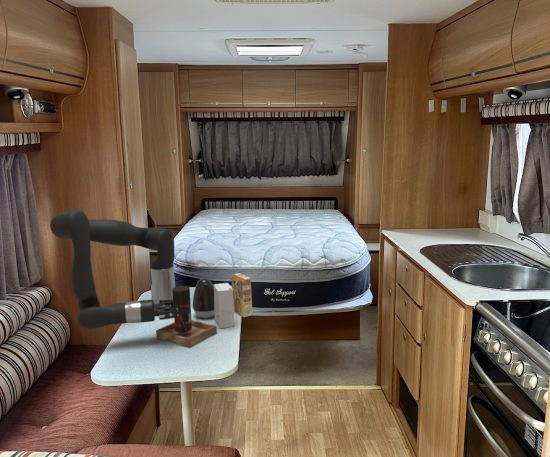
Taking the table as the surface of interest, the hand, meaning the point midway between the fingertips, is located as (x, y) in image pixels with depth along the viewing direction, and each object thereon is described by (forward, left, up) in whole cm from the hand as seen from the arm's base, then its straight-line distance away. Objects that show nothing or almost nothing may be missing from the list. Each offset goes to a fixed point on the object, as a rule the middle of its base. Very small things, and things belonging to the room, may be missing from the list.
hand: (189, 306), depth 179 cm
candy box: (+2, +26, -11) cm, 29 cm away
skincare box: (+3, +14, -11) cm, 18 cm away
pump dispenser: (-9, +17, -11) cm, 22 cm away
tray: (-2, -1, -11) cm, 11 cm away
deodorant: (-2, -2, -8) cm, 9 cm away
